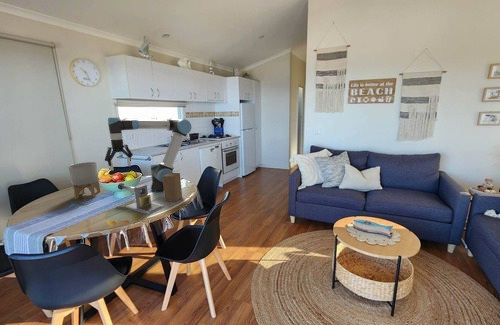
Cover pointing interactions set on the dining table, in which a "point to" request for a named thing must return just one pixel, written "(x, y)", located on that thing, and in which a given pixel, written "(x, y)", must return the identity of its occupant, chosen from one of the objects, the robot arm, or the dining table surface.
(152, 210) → the jig
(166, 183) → the wooden block
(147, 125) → the robot arm
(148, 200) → the spacer
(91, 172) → the planter
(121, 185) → the shaft
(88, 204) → the dining table surface
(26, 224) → the dining table surface
